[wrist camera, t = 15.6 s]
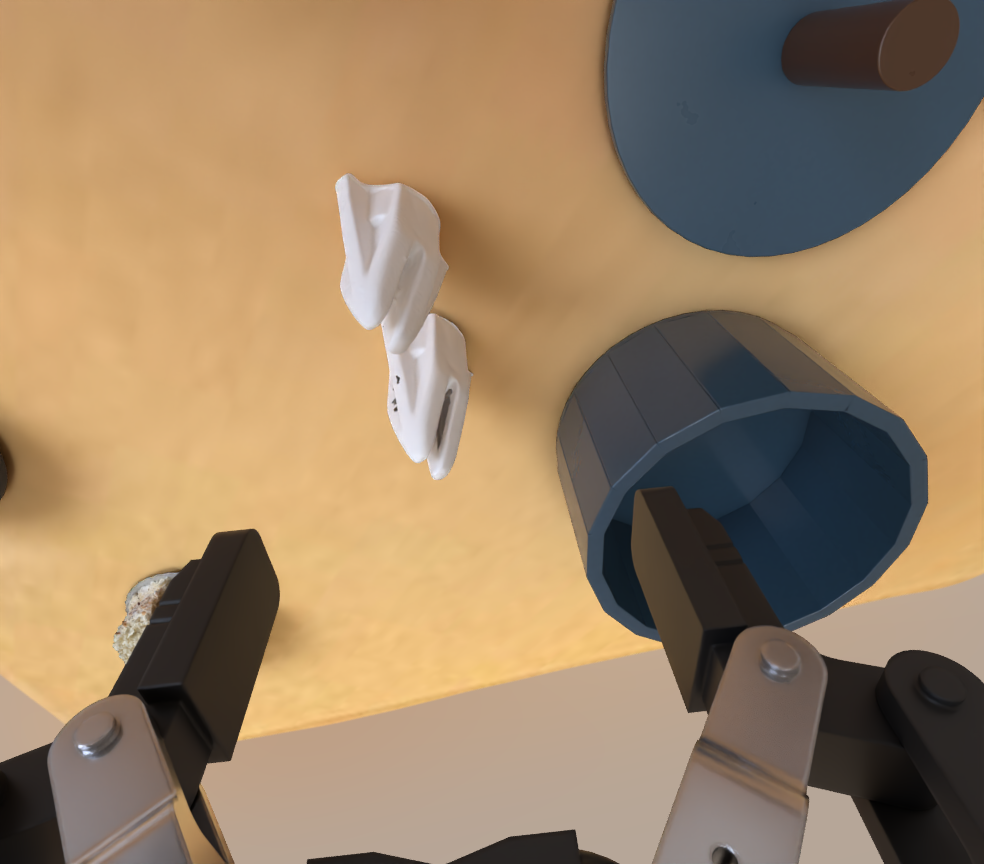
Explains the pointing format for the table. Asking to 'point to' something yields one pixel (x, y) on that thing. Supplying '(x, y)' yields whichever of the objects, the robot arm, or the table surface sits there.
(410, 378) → the shaker set
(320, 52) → the table surface
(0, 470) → the smart speaker
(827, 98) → the lid
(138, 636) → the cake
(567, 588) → the table surface
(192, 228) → the table surface
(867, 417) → the tin
